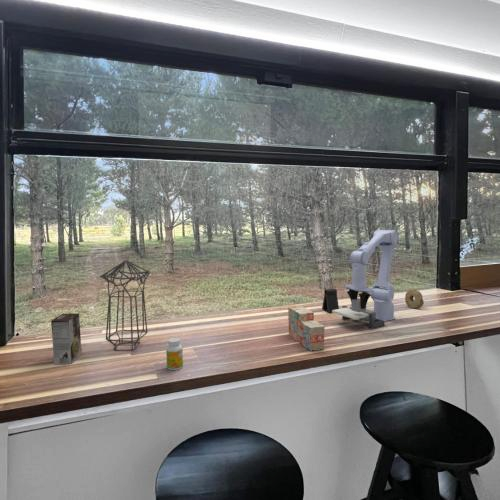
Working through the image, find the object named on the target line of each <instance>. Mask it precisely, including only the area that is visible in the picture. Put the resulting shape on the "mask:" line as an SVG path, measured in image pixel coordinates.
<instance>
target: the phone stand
mask: <svg viewBox="0 0 500 500" xmlns="http://www.w3.org/2000/svg"><path fill="white" fill-rule="evenodd" d="M323 293H324V296H323V300H322V307H321V309H322V311H324V312H325V313H328V314H333V313H332V310H336V309H340V307H339V300H338V289H337V288H329V289H324V292H323Z"/></svg>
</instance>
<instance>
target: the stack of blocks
mask: <svg viewBox="0 0 500 500" xmlns="http://www.w3.org/2000/svg"><path fill="white" fill-rule="evenodd" d="M287 309H288V311H287V312H288V335H289V336H290V337H292V338H293V339H294V340H295V341H297V343H300V344H301V345H302V346H304V348H305V349H307V350H308V351H309V350H310V352H312V350H314V351H320V349H322V350H325V325H324V324H321V322H318V321H316V320H315V316H314V315H315V314H314V312H313V311H312V310H310V309H307V308H305V307H304V306H302V305H296V306H288V308H287Z"/></svg>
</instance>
